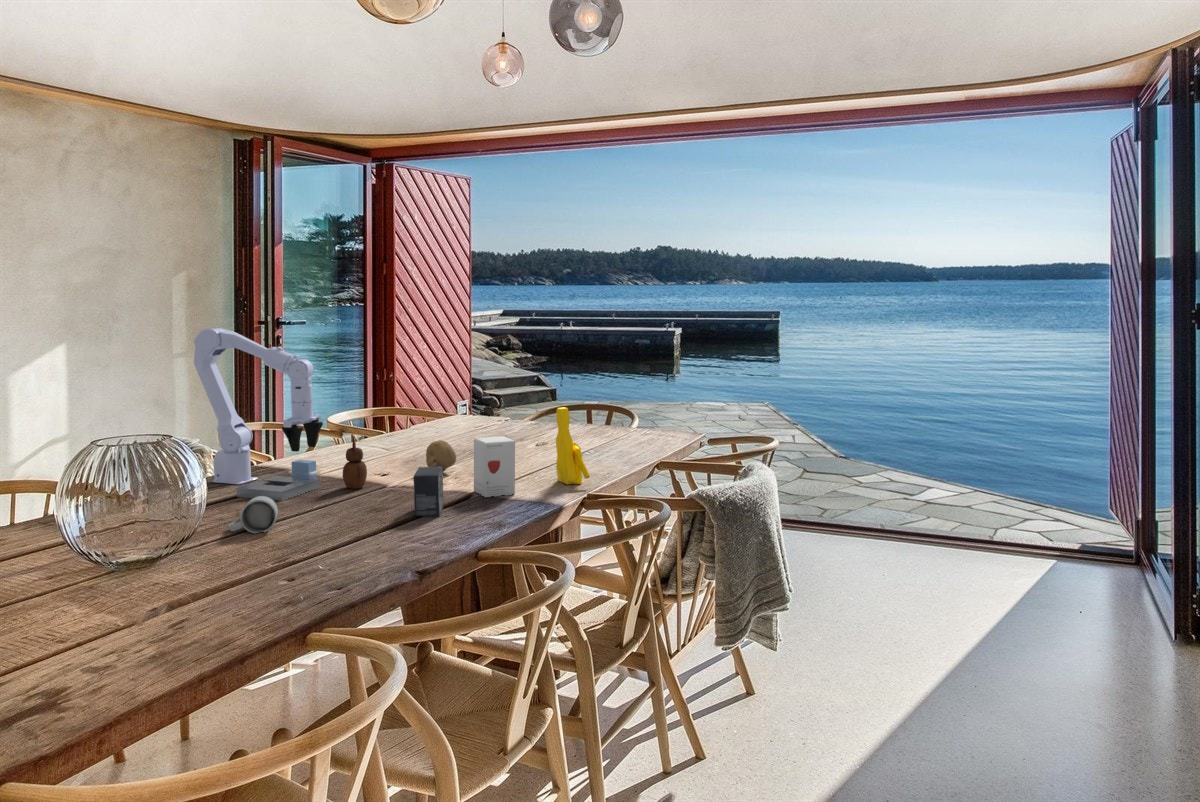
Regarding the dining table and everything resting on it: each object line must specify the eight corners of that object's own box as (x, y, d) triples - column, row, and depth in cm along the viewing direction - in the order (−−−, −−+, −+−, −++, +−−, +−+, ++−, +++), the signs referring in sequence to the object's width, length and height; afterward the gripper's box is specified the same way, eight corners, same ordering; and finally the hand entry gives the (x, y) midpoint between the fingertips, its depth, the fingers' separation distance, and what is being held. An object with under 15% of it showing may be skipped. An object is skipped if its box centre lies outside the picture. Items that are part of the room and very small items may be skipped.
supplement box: (484, 498, 233) (483, 442, 231) (473, 491, 241) (472, 437, 239) (516, 494, 237) (515, 440, 235) (503, 488, 245) (503, 435, 243)
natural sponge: (459, 470, 268) (459, 438, 267) (451, 476, 259) (451, 443, 258) (430, 469, 269) (430, 437, 268) (422, 475, 260) (421, 442, 259)
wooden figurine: (359, 490, 240) (357, 437, 238) (339, 489, 241) (338, 436, 239) (370, 485, 246) (369, 433, 244) (351, 484, 247) (350, 432, 245)
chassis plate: (237, 497, 231) (236, 487, 231) (276, 484, 246) (275, 475, 246) (281, 501, 227) (281, 491, 227) (318, 488, 242) (318, 479, 242)
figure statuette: (595, 487, 246) (596, 410, 244) (570, 490, 243) (571, 411, 240) (567, 475, 262) (568, 403, 259) (543, 478, 258) (544, 404, 256)
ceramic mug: (279, 523, 205) (277, 491, 204) (277, 532, 198) (275, 499, 197) (230, 527, 202) (228, 494, 201) (226, 536, 195) (224, 503, 194)
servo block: (288, 482, 250) (288, 461, 249) (296, 479, 253) (296, 459, 253) (312, 484, 248) (311, 463, 247) (319, 481, 251) (319, 461, 250)
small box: (418, 506, 223) (417, 466, 222) (444, 506, 223) (443, 466, 222) (413, 517, 212) (412, 474, 211) (440, 516, 213) (439, 474, 212)
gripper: (297, 405, 240) (299, 454, 241) (329, 399, 253) (330, 445, 255) (276, 404, 242) (278, 452, 243) (308, 398, 255) (310, 444, 257)
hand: (303, 449), depth 249 cm, fingers open, 7 cm apart
